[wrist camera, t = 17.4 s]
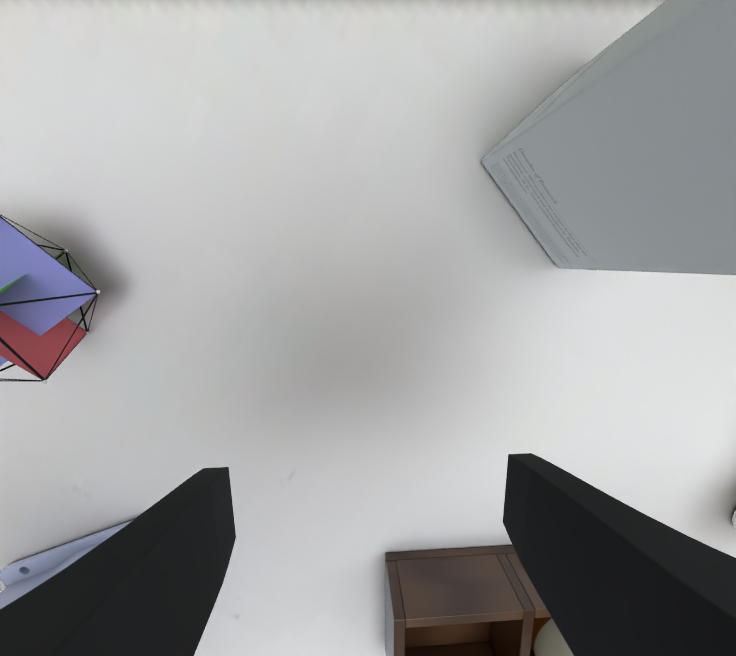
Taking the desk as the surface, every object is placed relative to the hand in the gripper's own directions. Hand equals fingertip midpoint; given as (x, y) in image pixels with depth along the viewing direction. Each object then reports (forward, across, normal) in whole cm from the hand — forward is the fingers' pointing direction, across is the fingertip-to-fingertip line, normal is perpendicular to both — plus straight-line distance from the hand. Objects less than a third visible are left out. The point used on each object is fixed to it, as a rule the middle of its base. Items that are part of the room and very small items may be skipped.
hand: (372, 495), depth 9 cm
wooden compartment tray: (+10, -9, +16) cm, 21 cm away
